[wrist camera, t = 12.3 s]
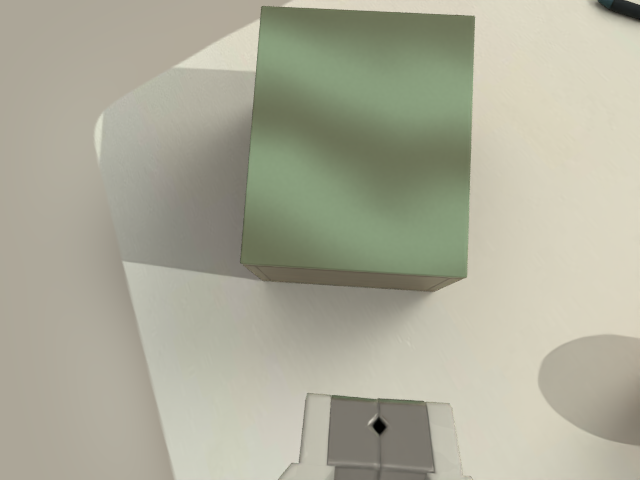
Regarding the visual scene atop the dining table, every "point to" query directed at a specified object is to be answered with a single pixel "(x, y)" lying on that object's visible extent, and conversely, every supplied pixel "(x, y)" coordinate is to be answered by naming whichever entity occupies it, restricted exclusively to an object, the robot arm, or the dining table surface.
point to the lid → (361, 142)
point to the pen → (622, 7)
